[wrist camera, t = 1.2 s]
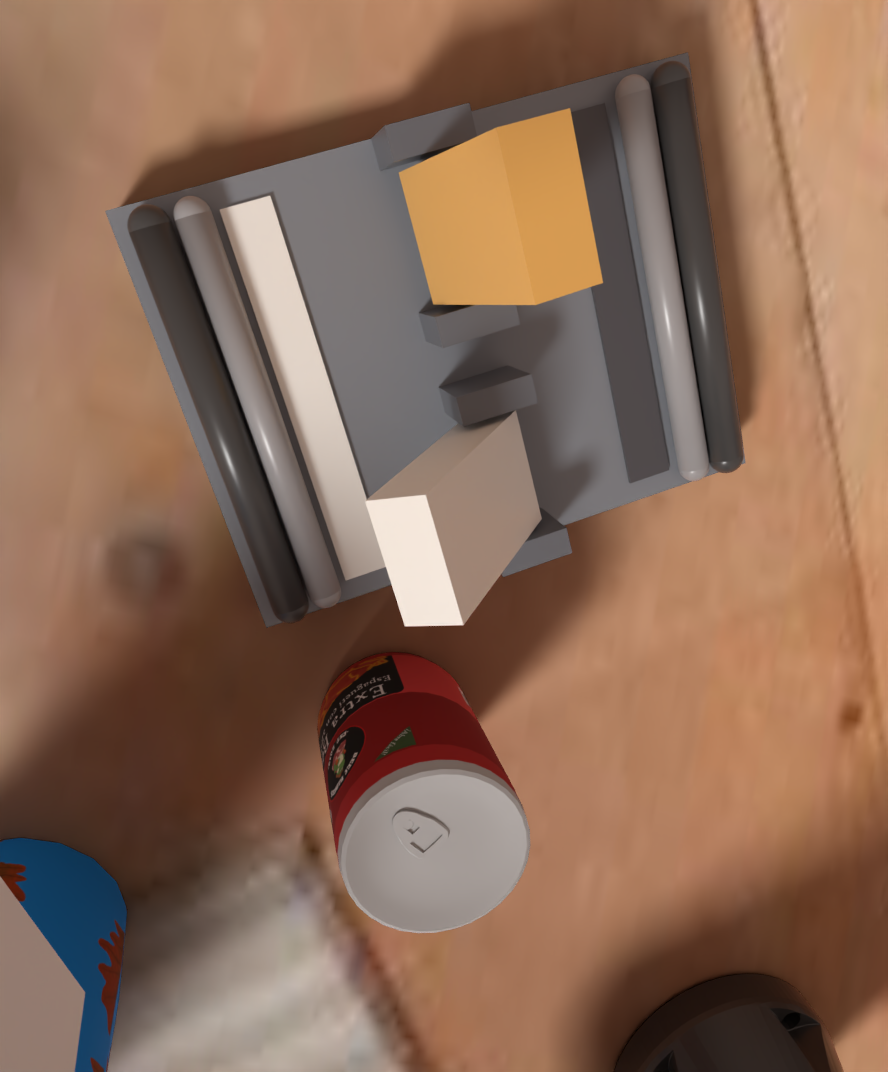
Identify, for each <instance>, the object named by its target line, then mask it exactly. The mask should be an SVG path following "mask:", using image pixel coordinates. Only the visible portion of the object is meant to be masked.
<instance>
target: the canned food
mask: <svg viewBox="0 0 888 1072" xmlns="http://www.w3.org/2000/svg"><path fill="white" fill-rule="evenodd" d="M317 730H318V738H319V745H320V751H321V758H322V764H323V770H324V777H325V783H326V790H327V796H328V802H329V809H330V815H331V822H332V828H333V834H334V841H335V847H336V853H337V856H338V862H339V868H340V871H341V874H342V877H343V880H344V883H345V885H346V888H347V890H348V893H349V895H350V896H351V897H352V899H353V900H354V902H355V903H356V905H357V906H358V907H359V908H360V909H361V910H362V911H364V912H365V913H366V914H367V915H368V916H369V917H371V918H372V919H374V920H376V921H378V922H379V923H381V924H383V925H385V926H388V927H391V928H394V929H397V930H400V931H407V932H414V933H435V932H441V931H446V930H451V929H455V928H458V927H460V926H463V925H466V924H469V923H471V922H473V921H475V920H477V919H478V918H480V917H482V916H484V915H486V914H487V913H488V912H490V911H491V910H492V909H494V908H495V907H496V906H497V905H499V904H500V903H501V902H502V901H503V900H504V899H505V898H506V897H507V895H508V894H509V893H510V892H511V891H512V890H513V888H514V887H515V885H516V884H517V882H518V881H519V879H520V877H521V876H522V873H523V871H524V868H525V866H526V863H527V861H528V855H529V849H530V829H529V826H528V822H527V819H526V815H525V813H524V809H523V806H522V804H521V802H520V800H519V798H518V796H517V794H516V792H515V789H514V788H513V786H512V784H511V782H510V780H509V778H508V776H507V774H506V773H505V771H504V769H503V767H502V765H501V763H500V761H499V759H498V758H497V756H496V754H495V752H494V750H493V748H492V746H491V744H490V743H489V741H488V739H487V737H486V735H485V733H484V731H483V729H482V728H481V726H480V724H479V722H478V720H477V718H476V716H475V714H474V713H473V711H472V709H471V707H470V705H469V703H468V701H467V699H466V698H465V696H464V694H463V692H462V690H461V688H460V687H459V685H458V683H457V682H456V681H455V680H454V679H453V678H452V676H451V675H450V674H449V673H448V672H446V671H445V670H444V669H442V668H441V667H440V666H438V665H437V664H435V663H433V662H431V661H429V660H427V659H425V658H423V657H420V656H417V655H413V654H409V653H399V652H389V653H381V654H376V655H373V656H370V657H367V658H364V659H362V660H360V661H358V662H356V663H355V664H353V665H351V666H350V667H349V668H347V669H346V670H345V671H344V672H342V673H341V674H340V675H339V677H338V678H337V679H336V680H335V681H334V682H333V683H332V685H331V687H330V689H329V690H328V692H327V694H326V696H325V698H324V700H323V703H322V706H321V709H320V712H319V715H318V726H317Z"/></svg>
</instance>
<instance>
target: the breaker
mask: <svg viewBox="0 0 888 1072" xmlns="http://www.w3.org/2000/svg"><path fill="white" fill-rule="evenodd" d="M365 503H366V506H367V509H368V512H369V515H370V518H371V522H372V525H373V528H374V531H375V534H376V537H377V540H378V544H379V547H380V550H381V553H382V556H383V559H384V562H385V566H386V569H387V572H388V575H389V578H390V581H391V584H392V587H393V591H394V594H395V597H396V600H397V603H398V606H399V609H400V613H401V616H402V619H403V622H404V625H405V626H450V625H464V624H465V622H466V621H467V620H468V618H469V617H470V616H471V614H472V613H473V612H474V610H475V609H476V608H477V606H478V605H479V603H480V602H481V601H482V599H483V598H484V597H485V595H486V594H487V593H488V591H489V590H490V589H491V587H492V586H493V584H494V583H495V582H496V580H497V579H498V578H499V576H500V575H501V574H502V572H503V571H504V569H505V568H506V567H507V565H508V564H509V563H510V561H511V560H512V559H513V557H514V556H515V555H516V553H517V552H518V550H519V549H520V548H521V546H522V545H523V544H524V542H525V541H526V540H527V538H528V537H529V535H530V534H531V533H532V531H533V530H534V529H535V527H536V526H537V525H538V523H539V522H540V521H541V519H542V518H541V513H540V509H539V505H538V501H537V497H536V492H535V488H534V484H533V480H532V476H531V472H530V467H529V463H528V459H527V455H526V451H525V446H524V442H523V438H522V434H521V430H520V425H519V421H518V417H517V413H516V410H514V411H511V412H508V413H505V414H502V415H499V416H496V417H492V418H489V419H486V420H483V421H480V422H477V423H474V424H471V425H468V426H465V427H463V426H462V425H461V424H459V423H458V424H457V425H455V426H454V427H453V428H452V429H451V430H449V431H448V432H447V433H446V434H445V435H443V436H442V437H441V438H440V439H439V440H437V441H436V442H435V443H434V444H433V445H431V446H430V447H429V448H428V449H427V450H425V451H424V452H423V453H422V454H421V455H419V456H418V457H417V458H416V459H415V460H413V461H412V462H411V463H410V464H409V465H407V466H406V467H405V468H404V469H403V470H402V471H400V472H399V473H398V474H397V475H396V476H394V477H393V478H392V479H391V480H390V481H388V482H387V483H386V484H385V485H384V486H382V487H381V488H380V489H379V490H378V491H376V492H375V493H374V494H373V495H372V496H370V497H369V498H368V499H367V500H366V501H365Z"/></svg>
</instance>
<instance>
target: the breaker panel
mask: <svg viewBox="0 0 888 1072" xmlns="http://www.w3.org/2000/svg"><path fill="white" fill-rule="evenodd" d="M569 108H570V111H571V116H572V121H573V126H574V132H575V137H576V142H577V148H578V153H579V158H580V163H581V169H582V174H583V179H584V185H585V190H586V195H587V200H588V206H589V211H590V216H591V222H592V227H593V232H594V237H595V243H596V248H597V253H598V259H599V264H600V269H601V274H602V280H603V283H601V284H598V285H595V286H592V287H589V288H586V289H583V290H580V291H577V292H574V293H571V294H568V295H565V296H562V297H559V298H555V299H552V300H549V301H546V302H543V303H540V304H537V305H433V301H432V298H431V294H430V290H429V286H428V282H427V279H426V275H425V271H424V267H423V263H422V260H421V256H420V252H419V248H418V244H417V241H416V237H415V233H414V229H413V225H412V222H411V218H410V214H409V210H408V206H407V203H406V199H405V195H404V191H403V187H402V184H401V180H400V176H399V172H401V171H403V170H405V169H408V168H410V167H412V166H414V165H416V164H418V163H421V162H423V161H425V160H427V159H429V158H431V157H434V156H436V155H438V154H440V153H442V152H444V151H447V150H449V149H451V148H453V147H455V146H457V145H460V144H462V143H464V142H466V141H468V140H470V139H473V138H475V137H477V136H479V135H481V134H484V133H486V132H488V131H490V130H492V129H494V128H497V127H500V126H504V125H508V124H512V123H515V122H519V121H523V120H527V119H531V118H534V117H538V116H542V115H546V114H550V113H553V112H557V111H561V110H565V109H569ZM105 212H106V214H107V217H108V220H109V222H110V225H111V227H112V230H113V232H114V235H115V238H116V240H117V243H118V245H119V248H120V251H121V253H122V256H123V258H124V261H125V263H126V266H127V269H128V271H129V274H130V276H131V279H132V282H133V284H134V287H135V289H136V292H137V294H138V297H139V300H140V302H141V305H142V307H143V310H144V313H145V315H146V318H147V320H148V323H149V325H150V328H151V331H152V333H153V336H154V338H155V341H156V344H157V346H158V349H159V351H160V354H161V356H162V359H163V362H164V364H165V367H166V369H167V372H168V375H169V377H170V380H171V382H172V385H173V387H174V390H175V393H176V395H177V398H178V400H179V403H180V406H181V408H182V411H183V413H184V416H185V418H186V421H187V424H188V426H189V429H190V431H191V434H192V437H193V439H194V442H195V444H196V447H197V449H198V452H199V455H200V457H201V460H202V462H203V465H204V468H205V470H206V473H207V475H208V478H209V480H210V483H211V486H212V488H213V491H214V493H215V496H216V499H217V501H218V504H219V506H220V509H221V511H222V514H223V517H224V519H225V522H226V524H227V527H228V530H229V532H230V535H231V537H232V540H233V542H234V545H235V548H236V550H237V553H238V555H239V558H240V561H241V563H242V566H243V568H244V571H245V573H246V576H247V579H248V581H249V584H250V586H251V589H252V592H253V594H254V597H255V599H256V602H257V604H258V607H259V610H260V612H261V615H262V617H263V620H264V623H265V625H266V628H268V627H270V626H273V625H276V624H279V623H282V622H285V623H295V622H298V621H300V620H301V619H303V618H304V616H305V615H306V614H308V613H311V612H314V611H317V610H320V609H323V608H329V607H332V606H334V605H335V604H337V603H340V602H343V601H346V600H349V599H352V598H355V597H358V596H360V595H363V594H366V593H369V592H372V591H375V590H378V589H381V588H384V587H387V586H389V585H392V584H391V581H390V578H389V575H388V572H387V569H386V566H385V562H384V559H383V556H382V553H381V550H380V547H379V544H378V540H377V537H376V534H375V531H374V528H373V525H372V522H371V518H370V515H369V512H368V509H367V506H366V503H365V501H366V500H367V499H368V498H369V497H370V496H372V495H373V494H374V493H375V492H376V491H378V490H379V489H380V488H381V487H382V486H384V485H385V484H386V483H387V482H388V481H390V480H391V479H392V478H393V477H394V476H396V475H397V474H398V473H399V472H400V471H402V470H403V469H404V468H405V467H406V466H407V465H409V464H410V463H411V462H412V461H413V460H415V459H416V458H417V457H418V456H419V455H421V454H422V453H423V452H424V451H425V450H427V449H428V448H429V447H430V446H431V445H433V444H434V443H435V442H436V441H437V440H439V439H440V438H441V437H442V436H443V435H445V434H446V433H447V432H448V431H449V430H451V429H452V428H453V427H454V426H455V425H457V424H458V423H459V424H461V425H462V426H463V427H465V426H468V425H471V424H474V423H477V422H480V421H483V420H486V419H489V418H492V417H496V416H499V415H502V414H505V413H508V412H511V411H514V410H516V413H517V417H518V421H519V425H520V430H521V434H522V438H523V442H524V446H525V451H526V455H527V459H528V463H529V467H530V472H531V476H532V480H533V484H534V488H535V492H536V497H537V501H538V505H539V509H540V513H541V518H542V519H541V521H540V522H539V523H538V525H537V526H536V527H535V529H534V530H533V531H532V533H531V534H530V535H529V537H528V538H527V540H526V541H525V542H524V544H523V545H522V546H521V548H520V549H519V550H518V552H517V553H516V555H515V556H514V557H513V559H512V560H511V561H510V563H509V564H508V565H507V567H506V568H505V569H504V571H503V572H502V574H501V575H502V576H503V577H505V576H508V575H511V574H513V573H516V572H519V571H522V570H525V569H528V568H531V567H533V566H536V565H539V564H542V563H545V562H548V561H551V560H553V559H556V558H559V557H562V556H565V555H568V554H571V553H572V550H571V545H570V541H569V537H568V532H567V528H566V527H565V526H564V525H567V524H570V523H572V522H575V521H578V520H581V519H584V518H587V517H590V516H593V515H596V514H599V513H601V512H604V511H607V510H610V509H613V508H616V507H619V506H622V505H625V504H628V503H630V502H633V501H636V500H639V499H642V498H645V497H648V496H651V495H654V494H657V493H660V492H662V491H665V490H668V489H671V488H674V487H677V486H680V485H683V484H686V483H689V482H691V481H697V480H700V479H702V478H704V477H706V476H709V475H712V474H715V473H718V472H721V473H730V472H733V471H735V470H736V469H737V468H739V467H740V465H741V464H744V463H745V456H744V448H743V441H742V434H741V427H740V420H739V413H738V406H737V398H736V391H735V384H734V377H733V370H732V363H731V356H730V349H729V341H728V334H727V327H726V320H725V313H724V306H723V299H722V291H721V284H720V277H719V270H718V263H717V256H716V249H715V241H714V234H713V227H712V220H711V213H710V206H709V199H708V191H707V184H706V177H705V170H704V163H703V156H702V149H701V141H700V134H699V127H698V120H697V113H696V106H695V99H694V91H693V84H692V77H691V70H690V63H689V56H688V53H684V54H680V55H677V56H673V57H669V58H666V59H662V60H658V61H654V62H651V63H647V64H643V65H640V66H636V67H632V68H629V69H625V70H621V71H618V72H614V73H610V74H607V75H603V76H599V77H596V78H592V79H588V80H585V81H581V82H577V83H574V84H570V85H566V86H563V87H559V88H555V89H552V90H548V91H544V92H541V93H537V94H533V95H530V96H526V97H522V98H519V99H515V100H511V101H508V102H504V103H500V104H497V105H493V106H489V107H486V108H482V109H478V110H475V111H471V107H470V103H466V104H462V105H459V106H455V107H451V108H448V109H444V110H440V111H437V112H433V113H429V114H426V115H422V116H418V117H414V118H411V119H407V120H403V121H400V122H396V123H392V124H389V125H385V126H383V127H382V128H381V129H380V130H379V131H378V132H377V133H376V134H375V135H374V136H373V137H372V138H371V139H368V140H364V141H361V142H357V143H353V144H350V145H346V146H342V147H339V148H335V149H331V150H328V151H324V152H320V153H317V154H313V155H309V156H306V157H302V158H298V159H295V160H291V161H287V162H284V163H280V164H276V165H273V166H269V167H265V168H262V169H258V170H254V171H251V172H247V173H243V174H240V175H236V176H232V177H229V178H225V179H221V180H218V181H214V182H210V183H207V184H203V185H199V186H196V187H192V188H188V189H184V190H181V191H177V192H173V193H170V194H166V195H162V196H159V197H155V198H151V199H148V200H144V201H140V202H137V203H133V204H129V205H126V206H122V207H118V208H115V209H111V210H107V211H105Z"/></svg>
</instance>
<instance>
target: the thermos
mask: <svg viewBox="0 0 888 1072" xmlns="http://www.w3.org/2000/svg"><path fill="white" fill-rule="evenodd" d="M0 877H1V878H2V880H3V881H4V882H5V884H6V885H7V886H8V888H9V889H10V890H11V892H12V893H13V895H14V896H15V897H16V899H17V900H18V901H19V903H20V904H21V905H22V907H23V908H24V910H25V911H26V912H27V914H28V915H29V916H30V918H31V919H32V920H33V922H34V923H35V925H36V926H37V927H38V929H39V930H40V931H41V933H42V934H43V935H44V937H45V938H46V940H47V941H48V942H49V944H50V945H51V946H52V948H53V949H54V950H55V952H56V953H57V955H58V956H59V957H60V959H61V960H62V961H63V963H64V964H65V965H66V967H67V968H68V970H69V971H70V972H71V974H72V975H73V976H74V978H75V979H76V980H77V982H78V983H79V985H80V986H81V987H82V989H83V990H84V991H85V998H84V1005H83V1013H82V1020H81V1028H80V1035H79V1043H78V1050H77V1058H76V1065H75V1072H107V1068H108V1062H109V1056H110V1050H111V1044H112V1038H113V1032H114V1026H115V1020H116V1014H117V1008H118V1002H119V994H120V984H121V973H122V963H123V952H124V941H125V930H126V917H127V908H126V905H125V902H124V900H123V897H122V895H121V892H120V890H119V887H118V884H117V882H116V881H115V880H114V879H113V878H112V877H111V876H110V875H109V874H108V873H107V872H106V871H105V870H104V869H103V868H102V867H101V866H100V865H99V864H98V863H97V862H96V861H95V860H94V859H93V858H91V857H89V856H87V855H84V854H82V853H80V852H78V851H76V850H74V849H72V848H69V847H67V846H65V845H63V844H61V843H55V842H48V841H41V840H33V839H26V838H15V839H8V840H0Z"/></svg>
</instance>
